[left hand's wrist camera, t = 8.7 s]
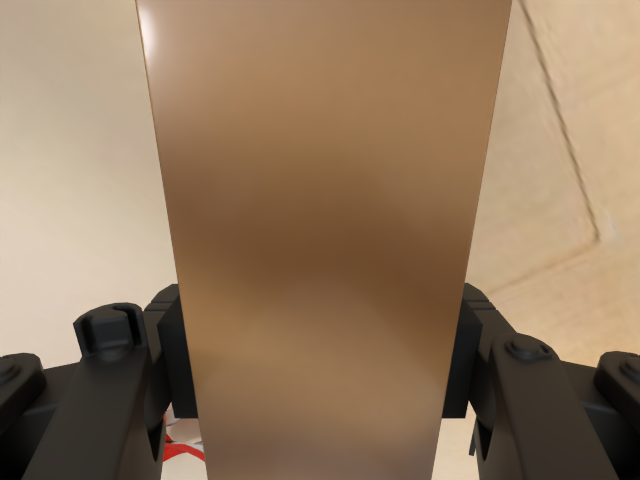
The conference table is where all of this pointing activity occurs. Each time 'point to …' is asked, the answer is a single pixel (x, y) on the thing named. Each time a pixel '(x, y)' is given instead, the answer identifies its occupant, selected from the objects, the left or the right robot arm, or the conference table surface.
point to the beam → (321, 219)
